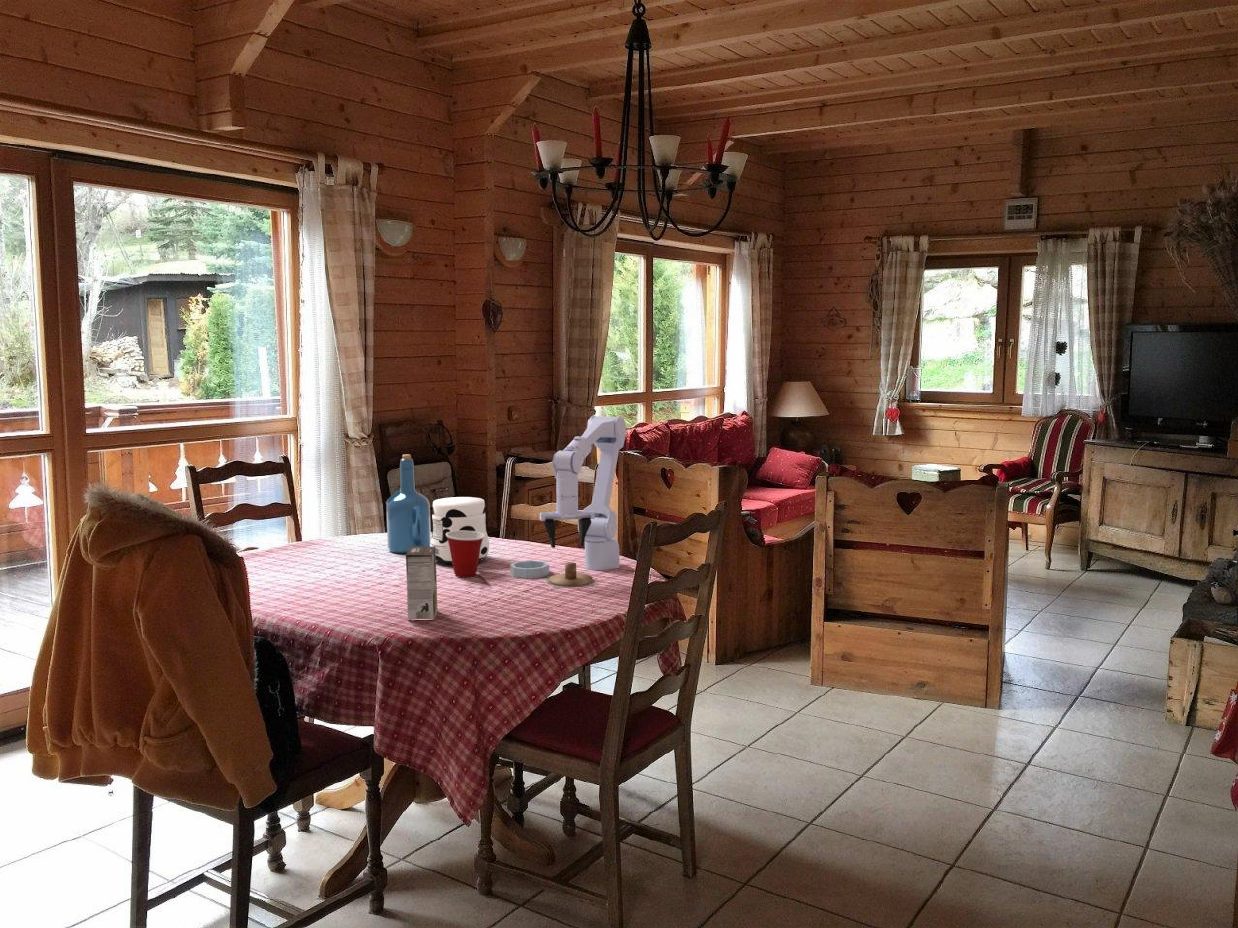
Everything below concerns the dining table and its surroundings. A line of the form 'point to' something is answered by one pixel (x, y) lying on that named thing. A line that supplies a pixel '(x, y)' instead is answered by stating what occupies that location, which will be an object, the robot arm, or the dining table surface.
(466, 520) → the white black patterned jar
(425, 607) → the coffee box
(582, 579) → the lid
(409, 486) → the wine bottle
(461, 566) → the plastic cup
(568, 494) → the robot arm
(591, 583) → the mat
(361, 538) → the dining table surface
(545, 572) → the bowl
